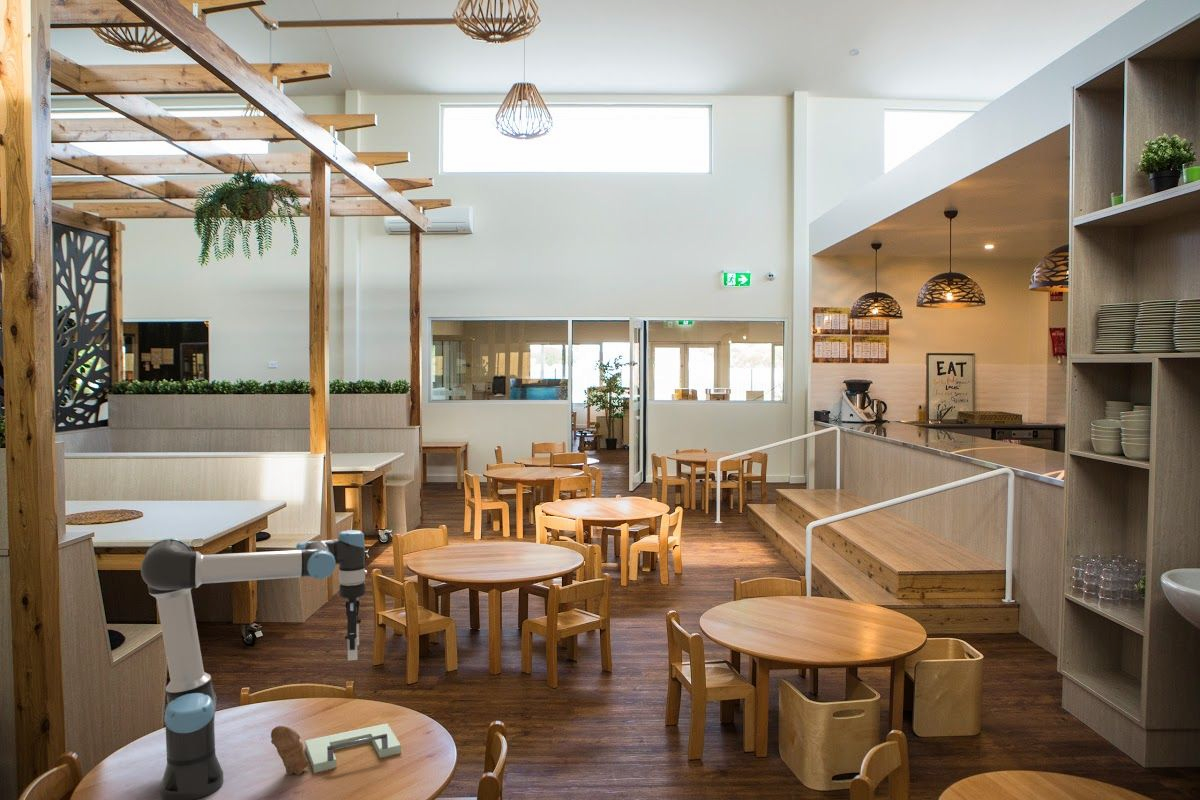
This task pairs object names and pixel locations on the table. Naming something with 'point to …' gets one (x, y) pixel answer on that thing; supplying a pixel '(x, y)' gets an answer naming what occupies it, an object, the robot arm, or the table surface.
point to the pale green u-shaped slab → (319, 745)
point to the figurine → (289, 749)
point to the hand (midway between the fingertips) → (353, 652)
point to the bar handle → (330, 748)
